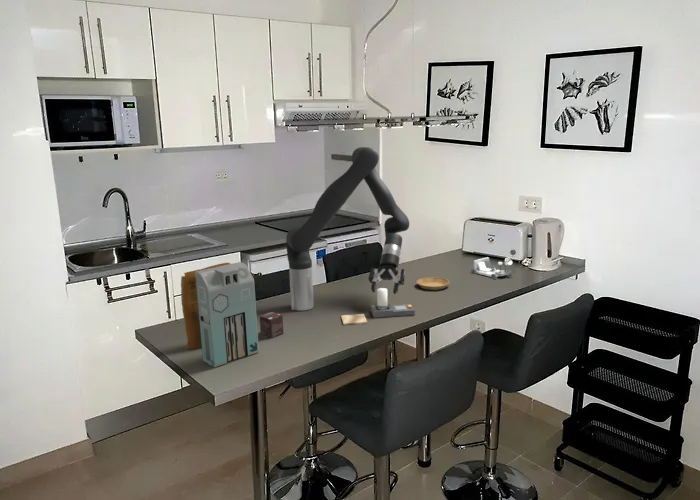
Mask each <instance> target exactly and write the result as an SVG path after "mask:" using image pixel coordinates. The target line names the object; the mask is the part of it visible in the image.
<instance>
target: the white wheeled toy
mask: <svg viewBox="0 0 700 500" xmlns="http://www.w3.org/2000/svg"><path fill="white" fill-rule="evenodd" d="M497 265H499V269H498V267H496V265H492V263H491V260H490V257H488V256H487V257H482V258H478V259H474V260H473V268H472V269H470V273H471V274H473V275H477V274H479V275H483V276H487V277H489V278H491V279H492V280H493V281H494V280H496V279H497V278H498V277H503V276H509V277H510V276H512V271H511V270H510V269H507V266H511V265H513V260H512V259H510V257H505V259H504V262H502V261H498V262H497ZM503 265H504V269H502V266H503ZM501 269H502V270H501Z"/></svg>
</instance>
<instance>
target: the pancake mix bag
mask: <svg viewBox="0 0 700 500" xmlns="http://www.w3.org/2000/svg"><path fill="white" fill-rule="evenodd" d="M228 264H232V263H230V262H223V263H218V264H214V265H211V266H207V267H204V268H201V269H200V268H199V269H195V270H192V271H186V272H184V275H183V276H182V275H181V278H180V288H181V289H180V292H181V293H180V294H181V295H180V299H181V307H182V309H181V310H182V315H183V320H184V327H185V328H184V329H185V334H186V338H187V347H186V348H187V349H189V350H197V349H198V350H199V349H202V341H201V330H200V319H199V308H198V297H197V286H196V275H195V272H196V271H201V270H205V269H210V268H214V267H219V266H224V265H228Z"/></svg>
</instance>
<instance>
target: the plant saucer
mask: <svg viewBox="0 0 700 500" xmlns="http://www.w3.org/2000/svg"><path fill="white" fill-rule="evenodd" d="M416 284H417V285H418V286H419V287H420V288H421V289H423V290H428V291H438V290H439V291H440V290H443V289H445V288H446V287H447V286H448V285H449V284H450V280H449V279H446V278H444V277H436V276H435V277H434V276H431V277H422V278H419V279H417V280H416Z"/></svg>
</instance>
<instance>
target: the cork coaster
mask: <svg viewBox="0 0 700 500" xmlns="http://www.w3.org/2000/svg"><path fill="white" fill-rule="evenodd" d="M340 318H341V320H342V321H341V322H342V324H343V325H344V326H346V325H347V326H351V325H361V324H363V325H364V324H368V320H367V318H366V316H365V314H364V313H358V314H357V313H355V314H344V315H340Z"/></svg>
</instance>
